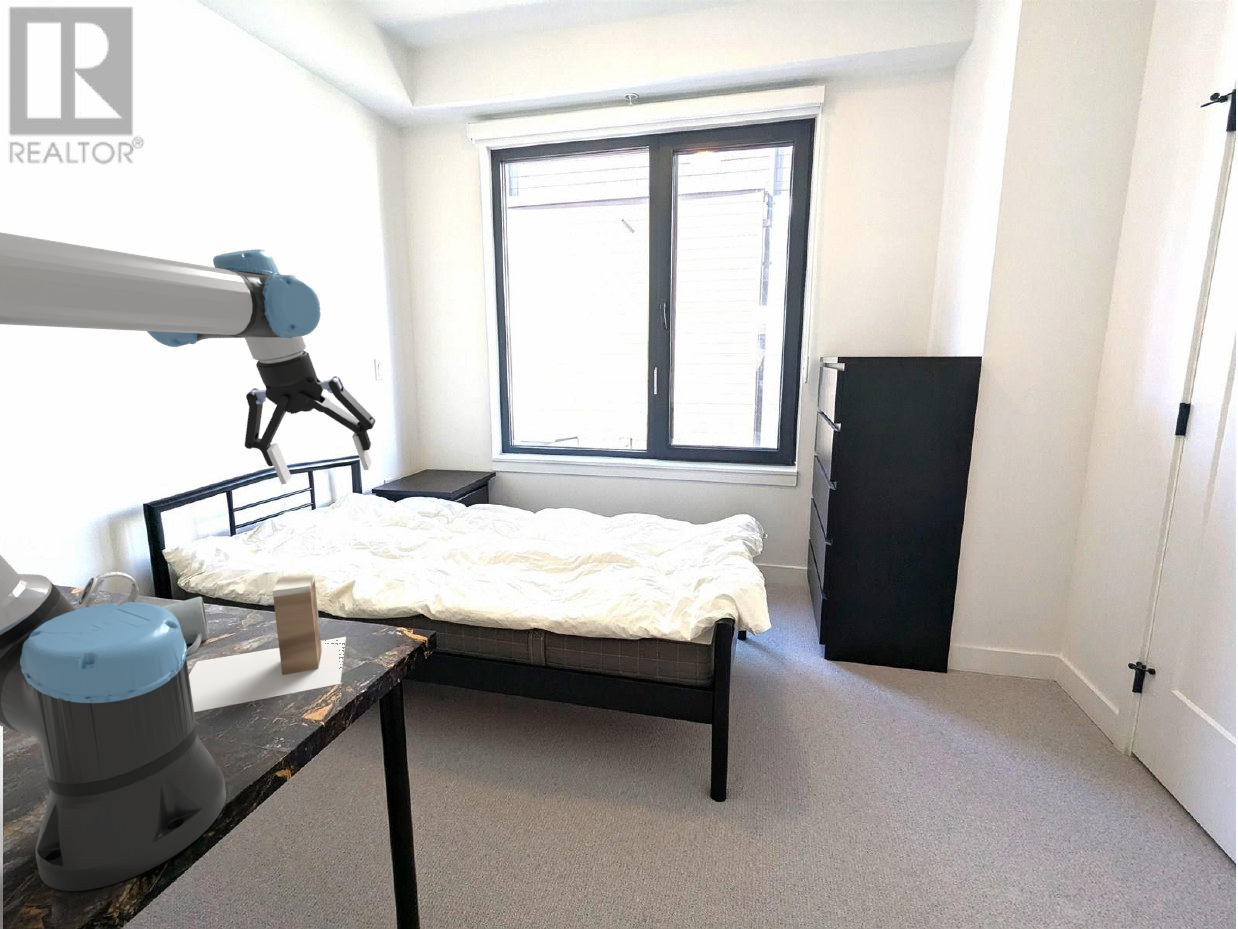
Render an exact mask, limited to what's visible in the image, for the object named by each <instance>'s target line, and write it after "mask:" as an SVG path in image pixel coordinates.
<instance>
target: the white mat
mask: <svg viewBox="0 0 1238 929" xmlns="http://www.w3.org/2000/svg"><path fill="white" fill-rule="evenodd" d="M325 640H326V641H325ZM325 640H321V647H322V653H321V658H320V663H319V668H318V669H314V670H309V671H303V672H298V673H292V674H287V675H282V667H281V659H280V650H279V647H276V648H269V649H264V650H257V651H252V652H246V653H240V654H233V655H228V656H223V657H222V656H221V657H216V658H210V659H209V658H208V659H204V660H197V661H196V662H195V664H194V665H193V667H192V669H191V671H190V673H189V680H190V687H191V694H192V701H193V708H194V713H198V712H203V711H208V710H214V709H218V708H219V709H220V708H224V707H229V706H235V705H238V704H246V703H249V702H254V701H261V700H264V699H270V698H275V697H280V696H285V695H291V694H294V693H295V694H296V693H301V692H307V691H310V690H316V689H322V688H326V687H332V686H336V685H341V684H342V683H341V681H342V673H343V665H344V658H343V659H342V658H340V659H339V657H344V656H345V648H346V640H347V636H342V637H335V638H331V639H330V638H329V639H325ZM336 640H338V641H336ZM325 643H326V644H325ZM327 643H329V644H327ZM331 643H334V644H331ZM335 643H338V645H337V644H335ZM339 643H341V644H339ZM342 643H345V645H344V644H343V645H342ZM342 647H345V648H344V649H343V648H342ZM339 650H340V651H339ZM342 650H344V652H343V651H342ZM339 654H341V655H339ZM343 654H344V655H343ZM339 661H340V662H339ZM342 661H343V662H342ZM340 664H341V665H340ZM342 664H343V665H342ZM340 667H342V668H340ZM339 668H340V669H339Z"/></svg>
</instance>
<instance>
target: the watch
mask: <svg viewBox="0 0 1238 929" xmlns="http://www.w3.org/2000/svg"><path fill="white" fill-rule="evenodd" d="M114 577H116V578H117V577H119V578H124V579H127V580H128V581H130V582H132V584H131V591H130V593H129V595H128V597H127V600H126V601H125V602H124V604H125V603H127V602H136V600H137V598H138V595H139V590H140V588H139V587H138V585H137V584H138V583H137V582H136V580H135V579H134V578H133V576H131V575H130V574H128V573H125V572H123V571H122V572H121V571H107V572H104V573H100V574H98V575H97V576H96V577H94V576H93V577H92V578H90V579H89V581H87V583H86V585H85V587H84V588H83V590H82V592H81V595H80V597H79V601H78V605H79V606H82V607H83V608H86V607H90V606H91V605H93V603H94V602H95V600H96V599H97V597H98V596H99V594H100V591H101V589H102V586H103V583H104V581H105V579H108V578H114Z"/></svg>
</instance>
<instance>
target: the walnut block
mask: <svg viewBox="0 0 1238 929" xmlns="http://www.w3.org/2000/svg"><path fill="white" fill-rule="evenodd" d="M315 580H316V579H315V572H310V573H309V572H308V573H300V574H292V575H286V576H285V575H284V576H279V577H278V579H277V580H276V583H275V585H274V587H273V589H272V596H273V603H274V604H273V605H274V614H275V615H274V616H275V623H276V624H275V625H276V632H277V640H278V648H279V650H280V659H281V667H282V675H287V674H292V673H298V672H303V671H309V670H314V669H318V668H319V663H320V658H321V653H322V647H321V641H322V639H321V638H322V637H321V629H320V628H321V627H320V620H319V610H318V598H317V588H316V581H315Z"/></svg>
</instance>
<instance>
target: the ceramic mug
mask: <svg viewBox="0 0 1238 929" xmlns="http://www.w3.org/2000/svg"><path fill="white" fill-rule="evenodd" d="M203 599H204V598H203V597H202V596H198V597H197V596H196V597H193V598H189V599H186V600H181V601H179V602H174V603H171V604H166V605H163V606H161V607H162V608H165V609H167V610H168V611H170V612H171V613H172V614H173V615H174V616H175V617H176V618H177V620H178V622H179V624H180V628H181V631H182V634H183V637H184V640H185V642H186V645H190V644H192V645H191V646H188V647H187V654H186V657H187V656H189V655H192V654H194V653H195V652H196V651H197V650H198V649H199V647H200V645H201V643H202V642H205V641H207V640H210V638H209V633H210V631H209V624H208V618H207V612H206V607H205V604H204V600H203Z"/></svg>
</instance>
